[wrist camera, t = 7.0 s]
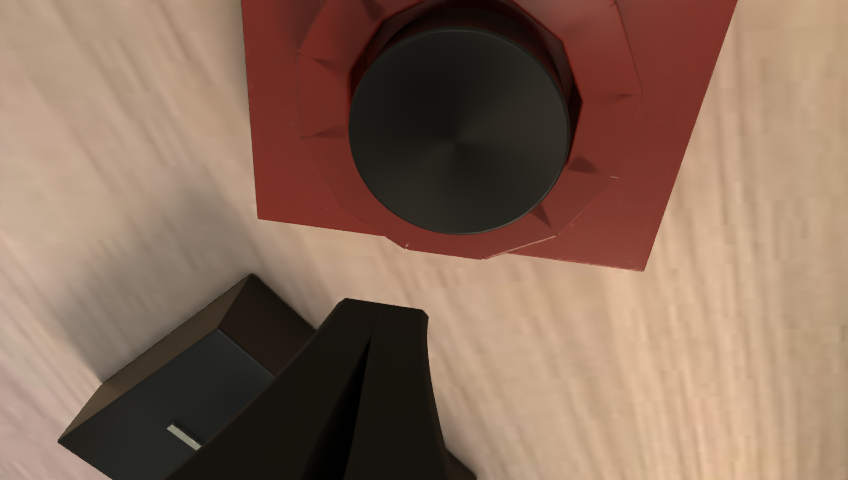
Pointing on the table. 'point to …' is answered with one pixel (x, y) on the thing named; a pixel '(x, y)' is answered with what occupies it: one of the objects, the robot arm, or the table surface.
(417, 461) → the robot arm
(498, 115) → the button
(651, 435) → the table surface
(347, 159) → the button box
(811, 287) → the table surface
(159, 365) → the panel
